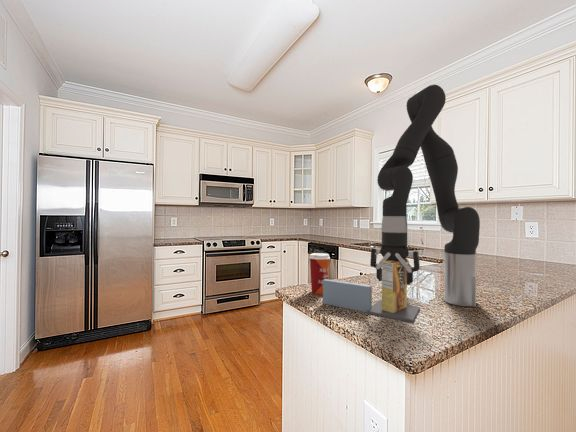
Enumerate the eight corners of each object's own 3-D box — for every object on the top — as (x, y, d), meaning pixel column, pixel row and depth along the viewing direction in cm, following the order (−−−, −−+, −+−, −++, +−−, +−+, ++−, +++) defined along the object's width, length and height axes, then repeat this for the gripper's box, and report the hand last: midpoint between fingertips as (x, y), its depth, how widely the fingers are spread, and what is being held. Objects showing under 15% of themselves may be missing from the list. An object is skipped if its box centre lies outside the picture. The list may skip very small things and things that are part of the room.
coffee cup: (324, 296, 101) (324, 256, 101) (305, 293, 105) (305, 254, 105) (333, 291, 108) (333, 253, 108) (314, 288, 112) (315, 252, 112)
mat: (419, 309, 87) (419, 307, 87) (413, 322, 76) (413, 319, 76) (378, 302, 94) (378, 300, 94) (367, 313, 84) (367, 310, 84)
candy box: (395, 304, 90) (394, 257, 90) (407, 307, 87) (407, 259, 87) (381, 310, 84) (381, 260, 84) (394, 314, 81) (394, 262, 81)
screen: (371, 310, 86) (371, 285, 86) (369, 312, 84) (369, 286, 84) (325, 302, 95) (325, 279, 95) (322, 303, 93) (322, 280, 93)
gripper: (421, 231, 85) (420, 283, 85) (374, 229, 93) (374, 277, 93) (417, 232, 78) (417, 288, 78) (368, 230, 86) (367, 281, 86)
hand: (394, 282), depth 85 cm, fingers open, 8 cm apart
